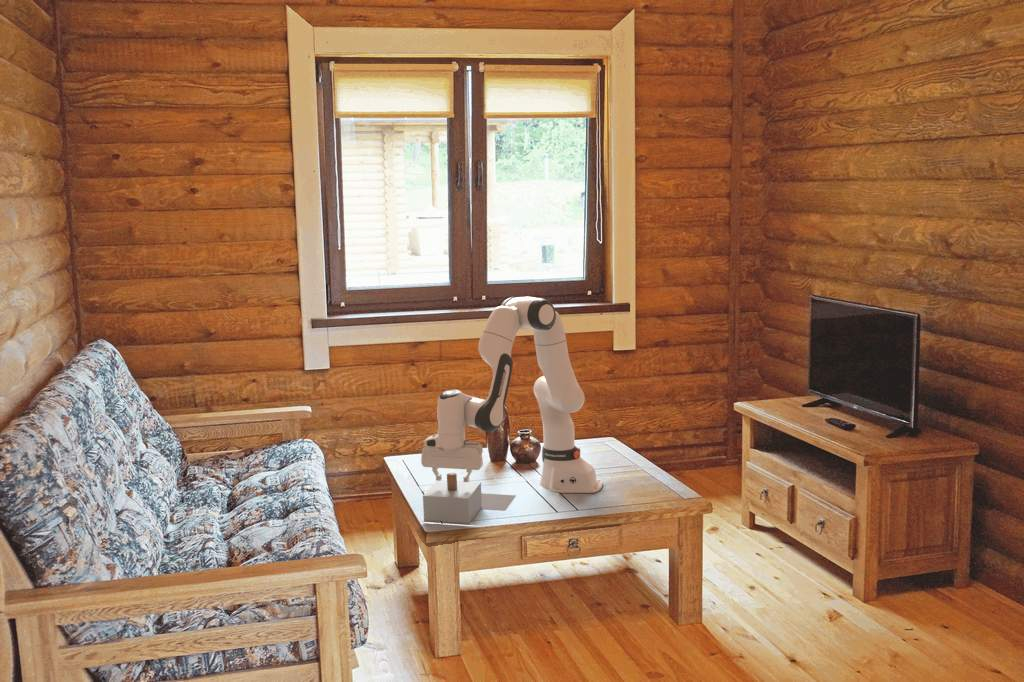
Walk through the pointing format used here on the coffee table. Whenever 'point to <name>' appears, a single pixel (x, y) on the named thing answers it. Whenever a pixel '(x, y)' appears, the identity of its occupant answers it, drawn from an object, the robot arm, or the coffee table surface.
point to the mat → (496, 501)
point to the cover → (452, 500)
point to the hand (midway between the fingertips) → (452, 481)
